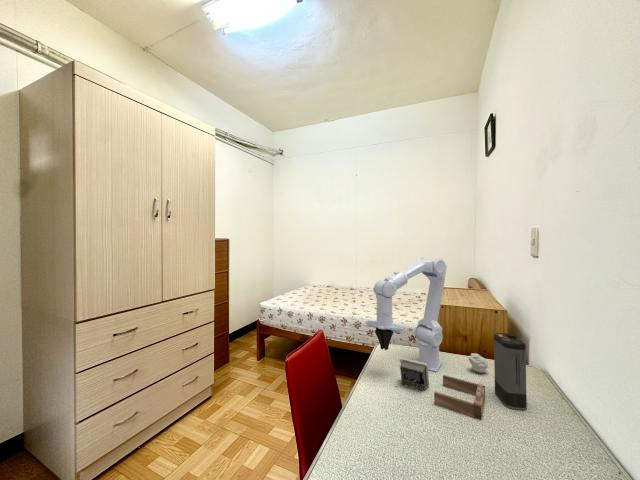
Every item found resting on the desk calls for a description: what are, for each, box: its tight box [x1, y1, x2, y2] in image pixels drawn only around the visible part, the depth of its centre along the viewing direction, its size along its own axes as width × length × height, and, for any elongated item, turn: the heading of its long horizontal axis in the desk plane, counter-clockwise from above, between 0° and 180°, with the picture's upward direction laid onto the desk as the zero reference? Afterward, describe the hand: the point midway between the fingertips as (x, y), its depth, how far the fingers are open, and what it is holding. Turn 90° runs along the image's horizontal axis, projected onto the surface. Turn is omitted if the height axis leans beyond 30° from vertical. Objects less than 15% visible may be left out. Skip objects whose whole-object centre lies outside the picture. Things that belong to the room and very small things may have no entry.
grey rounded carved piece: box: [467, 352, 489, 374], centre depth 101 cm, size 6×7×7 cm
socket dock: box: [433, 374, 486, 421], centre depth 83 cm, size 14×12×6 cm
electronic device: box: [493, 332, 528, 411], centre depth 83 cm, size 9×6×20 cm, turn 168°
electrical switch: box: [399, 357, 430, 392], centre depth 91 cm, size 9×5×9 cm, turn 57°
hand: (384, 348), depth 98 cm, fingers closed
